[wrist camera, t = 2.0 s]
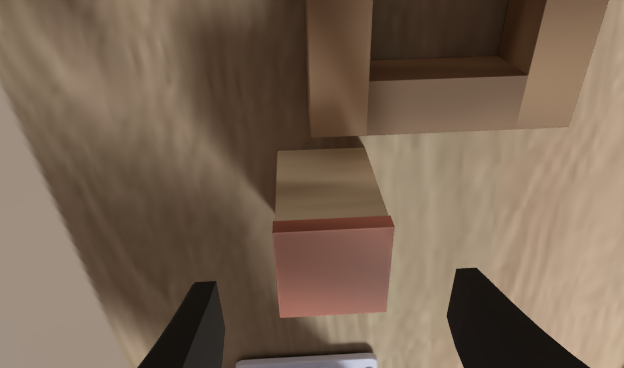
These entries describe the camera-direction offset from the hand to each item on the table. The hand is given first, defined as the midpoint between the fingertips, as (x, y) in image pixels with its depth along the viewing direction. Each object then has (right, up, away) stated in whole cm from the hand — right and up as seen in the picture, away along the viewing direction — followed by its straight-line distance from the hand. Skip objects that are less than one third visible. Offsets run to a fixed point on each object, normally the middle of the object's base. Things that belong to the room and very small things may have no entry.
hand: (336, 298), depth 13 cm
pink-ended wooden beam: (0, +3, +6) cm, 7 cm away
